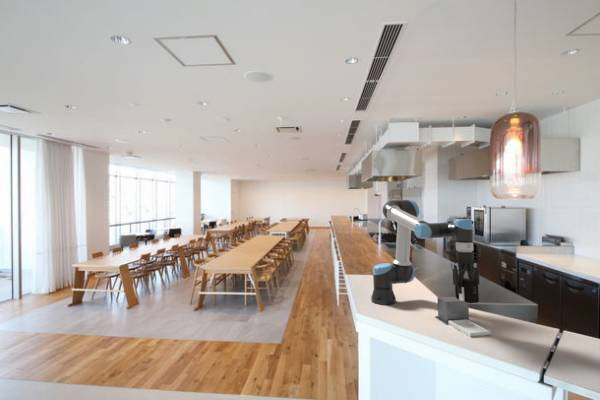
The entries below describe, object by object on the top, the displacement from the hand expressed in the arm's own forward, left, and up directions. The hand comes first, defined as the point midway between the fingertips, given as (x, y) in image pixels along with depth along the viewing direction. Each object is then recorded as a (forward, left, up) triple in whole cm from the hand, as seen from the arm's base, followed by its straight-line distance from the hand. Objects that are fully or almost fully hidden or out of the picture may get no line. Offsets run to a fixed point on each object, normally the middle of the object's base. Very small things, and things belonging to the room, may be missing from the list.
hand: (467, 299), depth 146 cm
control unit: (-13, +1, -14) cm, 19 cm away
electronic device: (0, 0, -1) cm, 1 cm away
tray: (0, 0, -14) cm, 14 cm away
